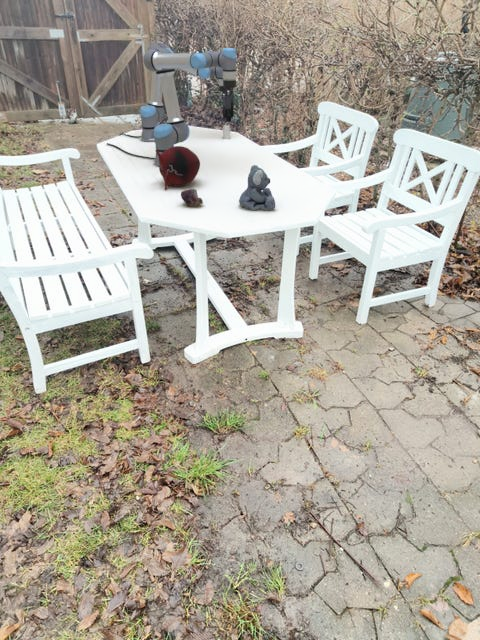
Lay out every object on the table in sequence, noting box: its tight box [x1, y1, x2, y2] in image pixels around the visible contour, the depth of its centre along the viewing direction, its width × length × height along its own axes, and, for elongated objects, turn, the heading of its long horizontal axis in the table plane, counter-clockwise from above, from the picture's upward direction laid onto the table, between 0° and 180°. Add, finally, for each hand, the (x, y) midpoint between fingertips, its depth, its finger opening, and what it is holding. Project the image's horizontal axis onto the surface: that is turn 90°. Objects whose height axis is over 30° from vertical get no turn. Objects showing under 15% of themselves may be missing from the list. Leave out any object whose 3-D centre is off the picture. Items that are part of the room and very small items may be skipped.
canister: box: [222, 124, 231, 140], centre depth 351 cm, size 5×5×9 cm
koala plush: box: [238, 164, 276, 211], centre depth 224 cm, size 17×18×20 cm
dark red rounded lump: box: [155, 145, 201, 191], centre depth 255 cm, size 21×24×25 cm
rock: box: [180, 188, 204, 207], centre depth 229 cm, size 12×9×10 cm
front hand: (230, 119), depth 269 cm, fingers open, 13 cm apart
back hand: (225, 116), depth 343 cm, fingers open, 13 cm apart
